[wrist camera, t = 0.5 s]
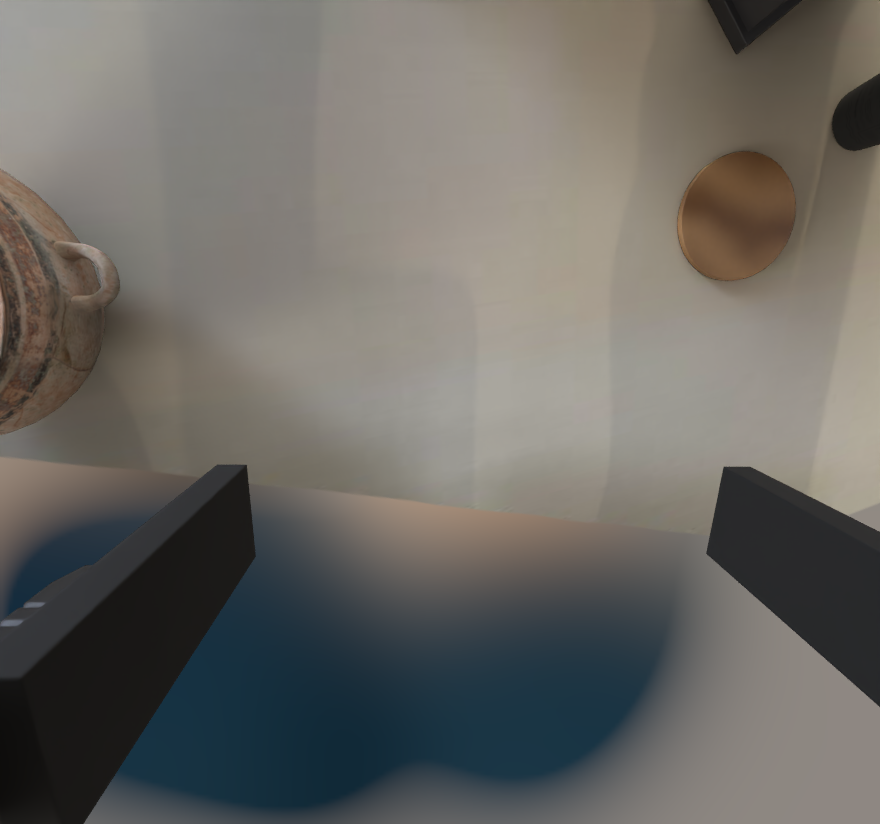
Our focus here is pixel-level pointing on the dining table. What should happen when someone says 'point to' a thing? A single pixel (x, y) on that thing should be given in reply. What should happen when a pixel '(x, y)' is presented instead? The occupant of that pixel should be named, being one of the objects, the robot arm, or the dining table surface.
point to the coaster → (736, 216)
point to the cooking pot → (45, 307)
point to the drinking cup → (859, 117)
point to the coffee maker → (749, 18)
